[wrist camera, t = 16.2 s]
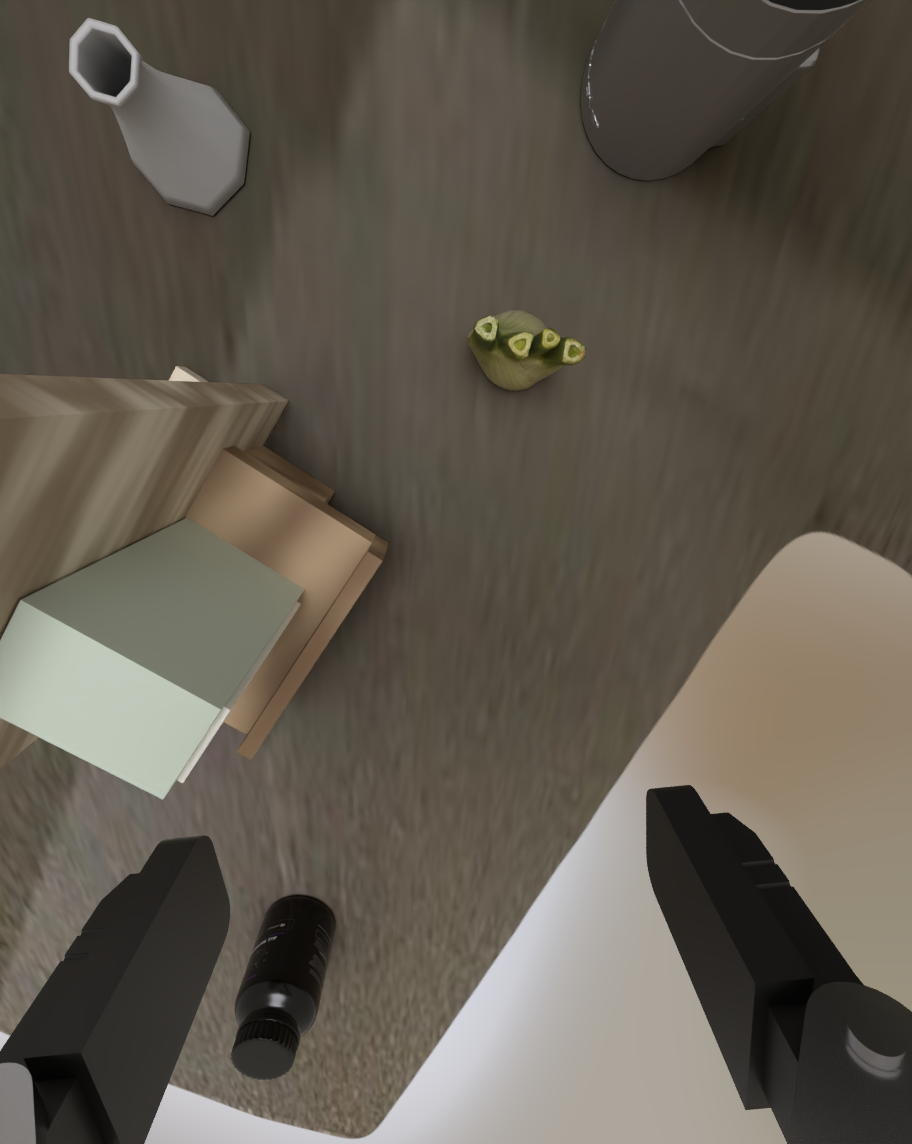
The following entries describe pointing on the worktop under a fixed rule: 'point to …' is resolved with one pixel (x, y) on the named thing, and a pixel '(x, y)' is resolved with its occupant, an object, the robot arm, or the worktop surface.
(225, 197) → the flask
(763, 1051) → the robot arm
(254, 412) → the wooden display stand
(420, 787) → the worktop surface
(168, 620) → the cabinet
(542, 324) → the fennel bulb
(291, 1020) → the supplement bottle
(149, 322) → the worktop surface
